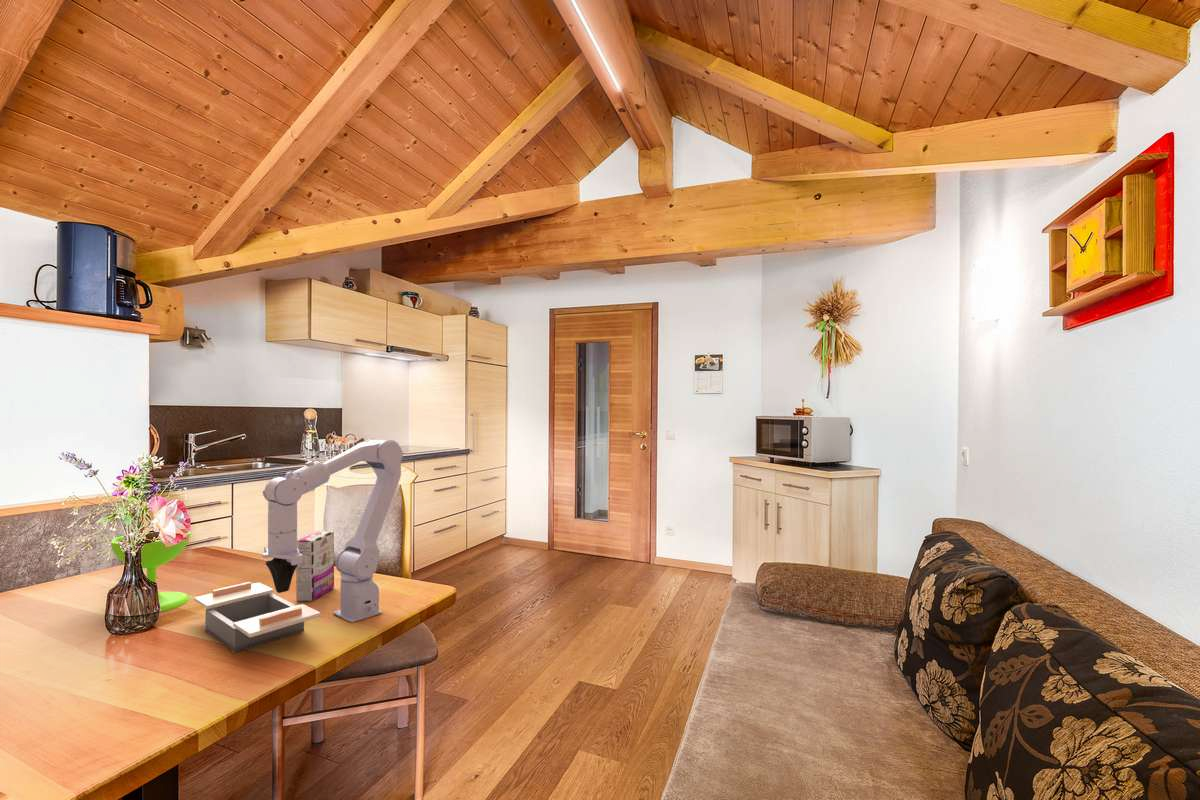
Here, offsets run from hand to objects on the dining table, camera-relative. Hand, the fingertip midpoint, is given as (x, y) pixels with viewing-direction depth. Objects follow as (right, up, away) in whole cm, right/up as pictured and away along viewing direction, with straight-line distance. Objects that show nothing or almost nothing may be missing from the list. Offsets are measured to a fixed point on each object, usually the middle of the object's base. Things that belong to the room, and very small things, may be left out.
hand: (282, 591), depth 121 cm
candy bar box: (-7, -11, +28) cm, 30 cm away
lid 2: (+2, -5, -4) cm, 7 cm away
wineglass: (-46, -11, +20) cm, 51 cm away
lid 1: (-18, -5, +11) cm, 22 cm away
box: (-8, -10, +3) cm, 14 cm away
